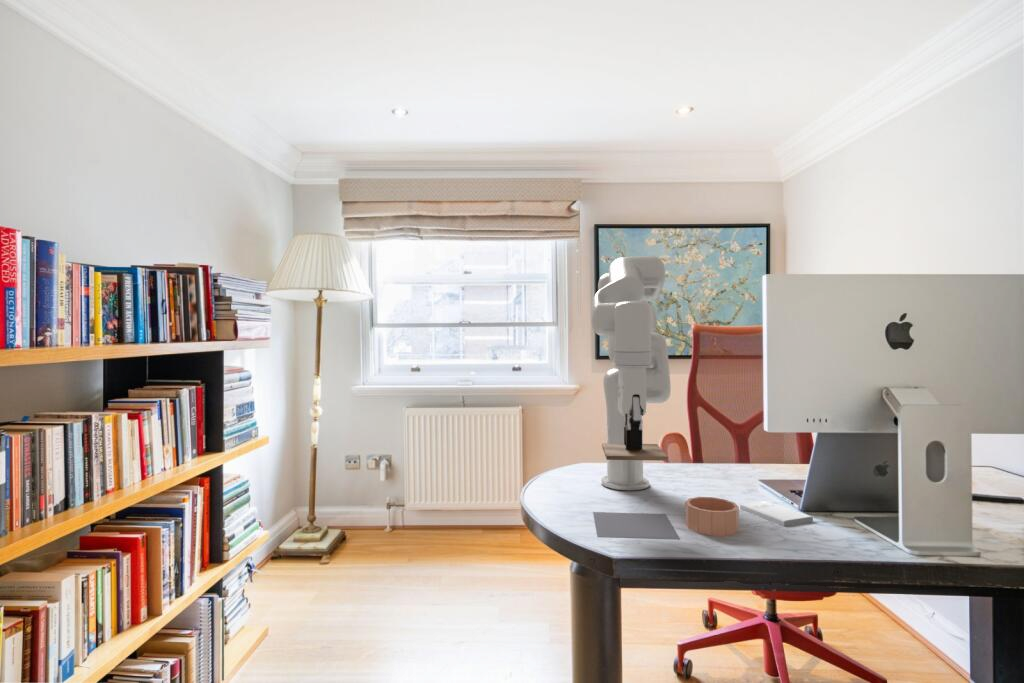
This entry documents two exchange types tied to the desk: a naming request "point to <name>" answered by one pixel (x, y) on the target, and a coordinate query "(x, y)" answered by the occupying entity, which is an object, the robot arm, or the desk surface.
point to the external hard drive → (776, 513)
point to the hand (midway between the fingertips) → (633, 446)
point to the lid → (633, 452)
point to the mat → (634, 525)
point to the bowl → (712, 516)
